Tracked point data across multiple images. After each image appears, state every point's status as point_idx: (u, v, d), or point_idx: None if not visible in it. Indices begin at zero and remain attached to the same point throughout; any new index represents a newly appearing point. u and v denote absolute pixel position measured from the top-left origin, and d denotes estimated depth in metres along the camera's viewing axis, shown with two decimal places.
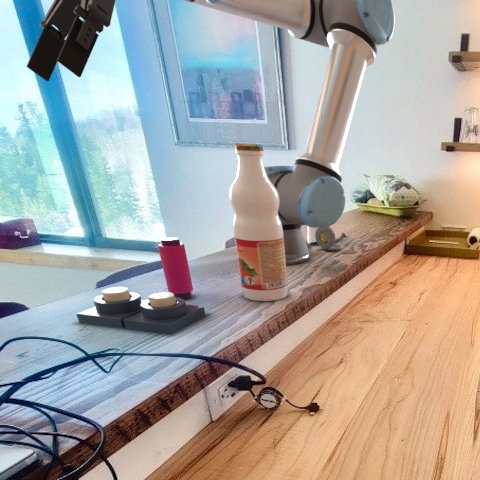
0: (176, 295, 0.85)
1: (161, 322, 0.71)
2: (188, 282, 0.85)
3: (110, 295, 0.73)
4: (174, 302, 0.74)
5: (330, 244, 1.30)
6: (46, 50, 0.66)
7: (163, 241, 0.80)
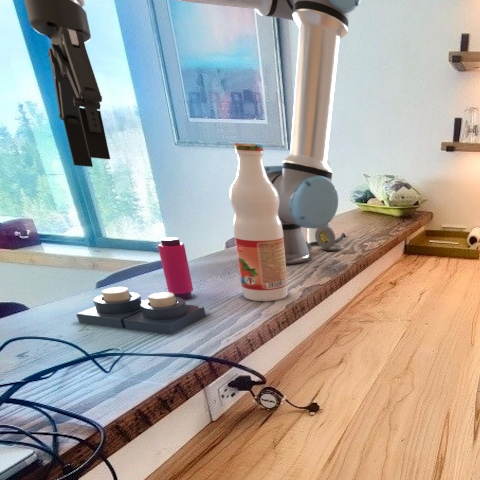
0: (176, 295, 0.85)
1: (161, 322, 0.71)
2: (188, 282, 0.85)
3: (110, 295, 0.73)
4: (174, 302, 0.74)
5: (330, 244, 1.30)
6: (76, 140, 0.74)
7: (163, 241, 0.80)
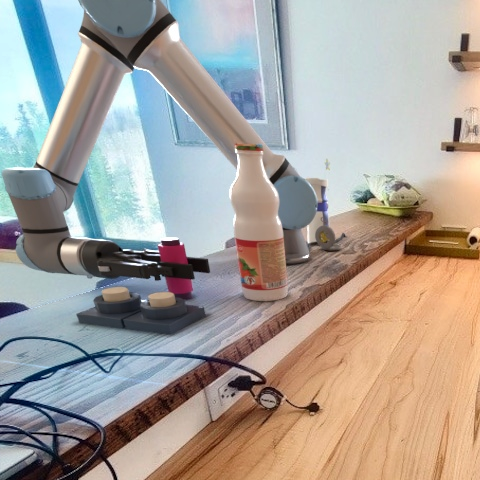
0: (176, 295, 0.85)
1: (161, 322, 0.71)
2: (188, 282, 0.85)
3: (110, 295, 0.73)
4: (174, 302, 0.74)
5: (330, 244, 1.30)
6: None
7: (163, 241, 0.80)
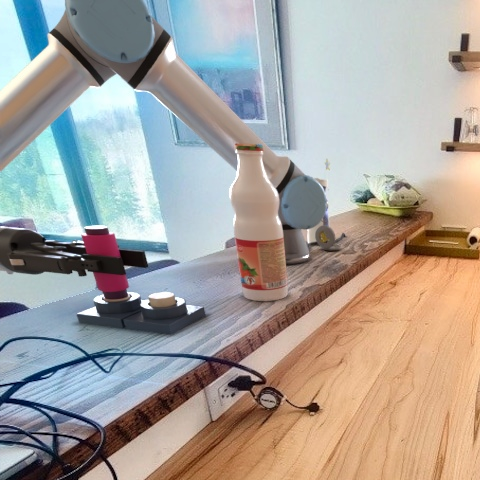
0: (107, 294, 0.73)
1: (161, 322, 0.71)
2: (121, 278, 0.73)
3: (112, 301, 0.73)
4: (174, 302, 0.74)
5: (330, 244, 1.30)
6: (123, 259, 0.73)
7: (87, 229, 0.68)
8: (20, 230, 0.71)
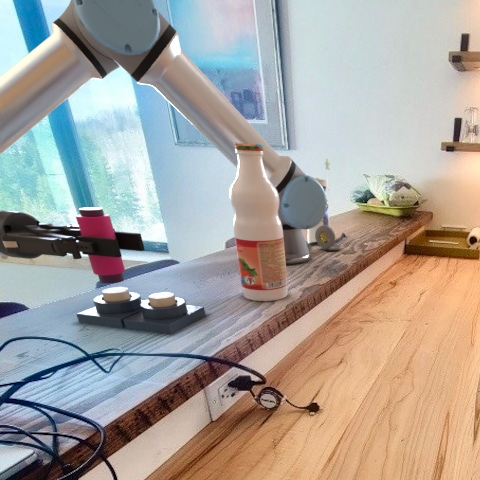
0: (103, 277, 0.71)
1: (161, 322, 0.71)
2: (117, 261, 0.71)
3: (110, 295, 0.73)
4: (174, 302, 0.74)
5: (330, 244, 1.30)
6: (119, 242, 0.72)
7: (81, 211, 0.66)
8: (14, 213, 0.70)
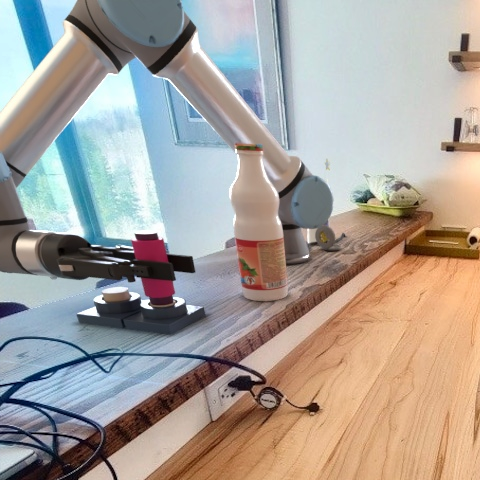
0: (154, 299, 0.72)
1: (161, 322, 0.71)
2: (169, 283, 0.71)
3: (110, 295, 0.73)
4: None
5: (330, 244, 1.30)
6: None
7: (137, 235, 0.67)
8: (67, 235, 0.70)
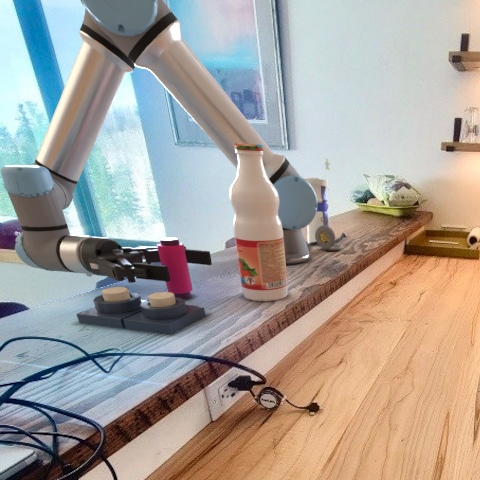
0: (175, 295, 0.85)
1: (161, 322, 0.71)
2: (188, 282, 0.85)
3: (110, 295, 0.73)
4: (174, 302, 0.74)
5: (330, 244, 1.30)
6: (192, 257, 0.90)
7: (162, 241, 0.80)
8: (102, 239, 0.84)
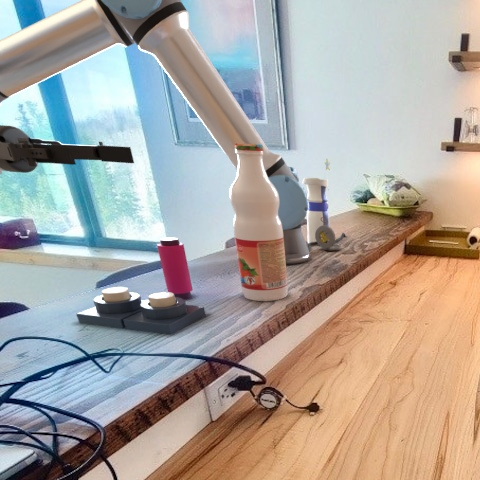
0: (175, 295, 0.85)
1: (161, 322, 0.71)
2: (188, 282, 0.85)
3: (110, 295, 0.73)
4: (174, 302, 0.74)
5: (330, 244, 1.30)
6: (111, 155, 0.82)
7: (162, 241, 0.80)
8: (7, 126, 0.76)
